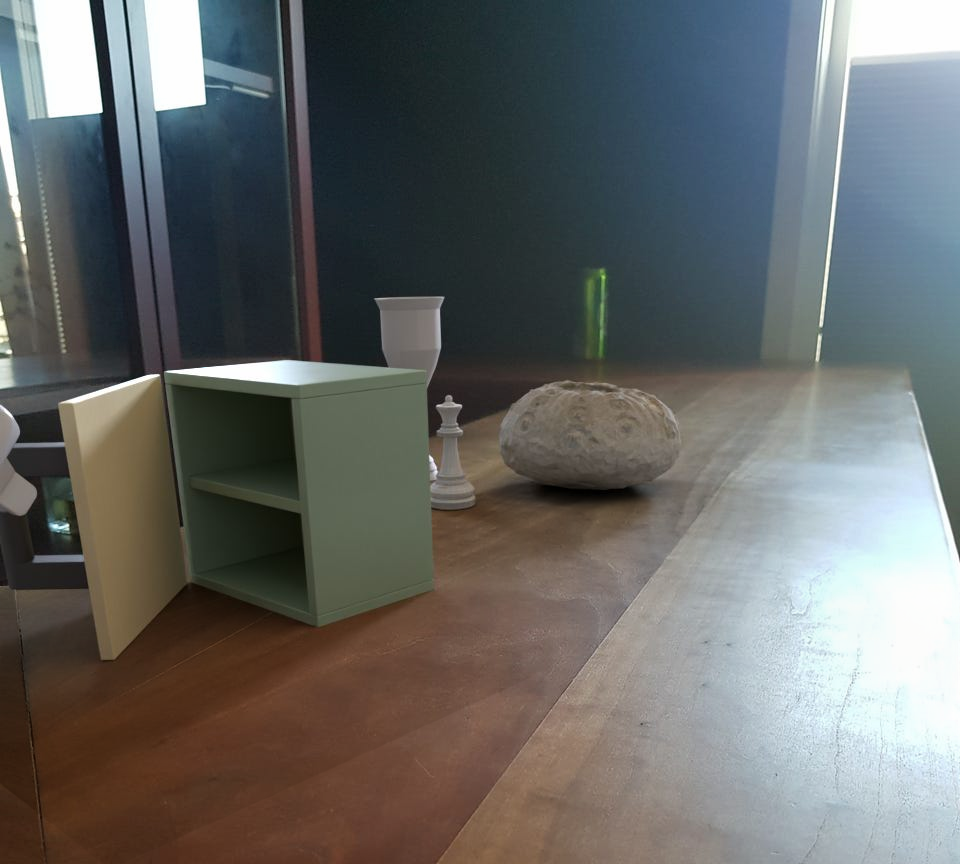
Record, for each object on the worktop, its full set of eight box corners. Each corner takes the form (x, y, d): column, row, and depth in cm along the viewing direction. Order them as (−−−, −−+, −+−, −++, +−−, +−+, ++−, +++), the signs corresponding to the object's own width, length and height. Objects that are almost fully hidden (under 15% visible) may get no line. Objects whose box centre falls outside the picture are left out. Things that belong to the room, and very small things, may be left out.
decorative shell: (678, 470, 105) (683, 374, 101) (680, 508, 88) (686, 395, 85) (512, 468, 108) (512, 374, 104) (485, 504, 91) (483, 394, 88)
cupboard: (318, 628, 60) (298, 384, 55) (190, 583, 70) (163, 371, 64) (434, 590, 67) (426, 370, 62) (303, 553, 76) (287, 359, 71)
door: (7, 662, 55) (-46, 405, 50) (101, 584, 69) (67, 376, 64) (114, 660, 55) (72, 402, 50) (187, 583, 69) (160, 374, 64)
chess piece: (419, 507, 90) (415, 397, 87) (441, 498, 94) (438, 391, 91) (462, 511, 89) (459, 399, 85) (483, 501, 92) (481, 393, 89)
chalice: (414, 468, 109) (406, 296, 102) (463, 474, 105) (458, 296, 98) (370, 480, 103) (359, 299, 97) (420, 486, 99) (412, 299, 93)
